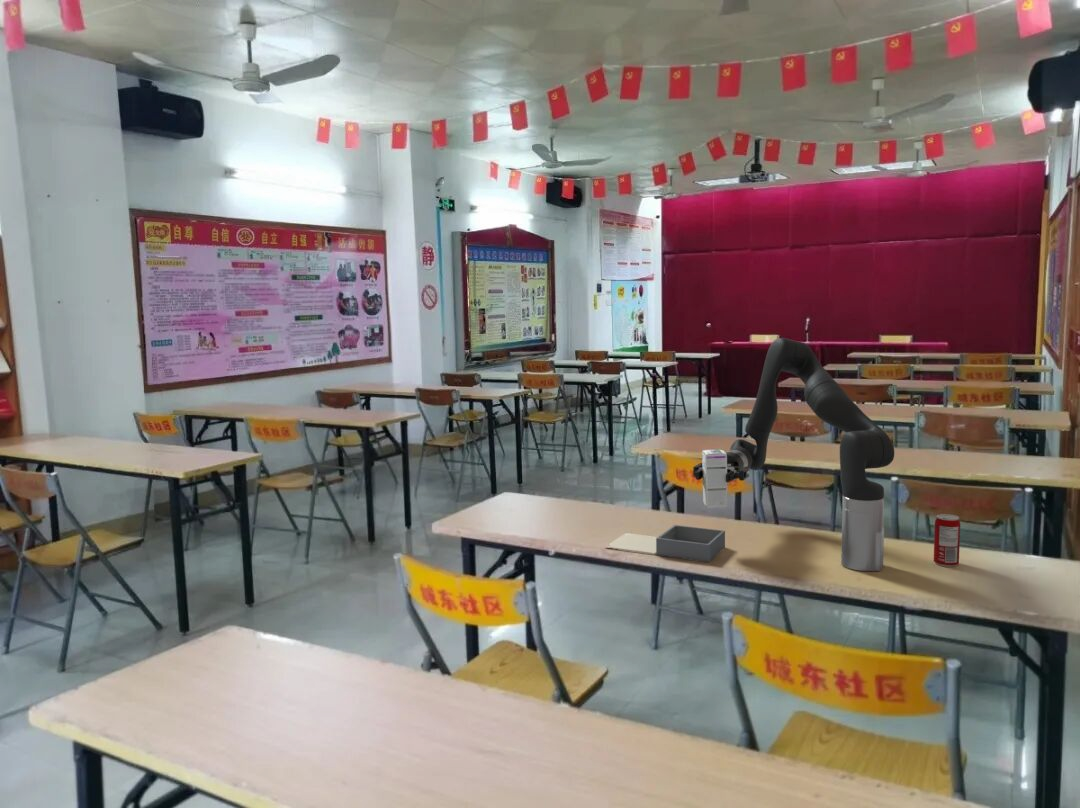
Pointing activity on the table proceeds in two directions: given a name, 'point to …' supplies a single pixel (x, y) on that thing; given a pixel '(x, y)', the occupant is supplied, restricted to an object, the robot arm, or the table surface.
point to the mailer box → (675, 543)
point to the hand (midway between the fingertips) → (712, 477)
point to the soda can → (947, 540)
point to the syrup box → (714, 478)
